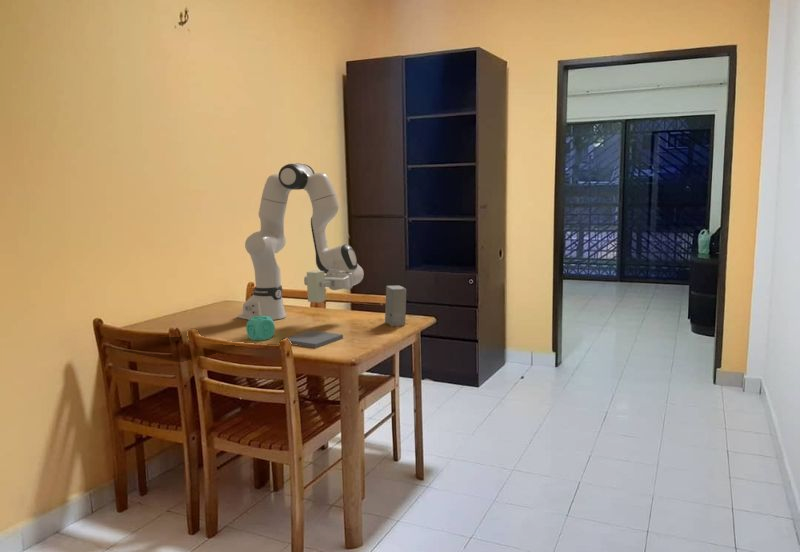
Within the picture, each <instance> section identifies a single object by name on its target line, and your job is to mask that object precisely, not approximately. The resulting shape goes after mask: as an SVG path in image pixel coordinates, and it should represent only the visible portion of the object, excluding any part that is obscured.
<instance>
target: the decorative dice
mask: <svg viewBox="0 0 800 552" xmlns="http://www.w3.org/2000/svg"><path fill="white" fill-rule="evenodd" d="M246 322H247V323H246V325H245V326H246V327H245V329H246V334H247V337H248V338H249V339H250V340H251V341H255V342H256V341H257V342H258V341H267V339H268V340H271V338H273V336H274V335H275V330H276V328H275V327H276V325H275V321H274V320H272V319H271V318H270V317H269V316H256V317H252V318H250V319H249V320H247V321H246Z"/></svg>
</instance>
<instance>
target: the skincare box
mask: <svg viewBox="0 0 800 552" xmlns="http://www.w3.org/2000/svg"><path fill="white" fill-rule="evenodd" d="M406 308H407V288H405V287H404V286H401V285H386V287H385V308H384V310H385V311H384V312H385V313H384V323H385V324H387V325H389V326H390V327H400V326H401V327H402V326H405V325H406V313H407V312H406V311H407V309H406Z"/></svg>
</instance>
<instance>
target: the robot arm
mask: <svg viewBox="0 0 800 552" xmlns="http://www.w3.org/2000/svg"><path fill="white" fill-rule="evenodd" d="M294 190H297V191H299V190H304V191H306V193H307V195H308V197H309V200H310V202H311V207H312V216H311V218H310V229H311V233H312V240H313V246H314V251H315V264H316V267H317V268H318V271H324V275H325V282H320V283H319V284H320V287H325V288H328V289H330V290H331V291H339V290H343V289H345V290H346V289H348V290H350V289H353V286H356V285H359V284H360V283H361V282H362V281H363V279H364V269H363V268H362V266H360V265H359V263H358V257H357V252H356V251H355V249H354V248H353V247H352V246H351V245H349V244H347V243H345V244H343V245H339V246H336V247H333V248H329V247H328V242H327V241H328V240H327V235H326V228H327V225H328V224H329V223H330V222H331V220H333V219H334V218H335V216H336V215H337V213H338V211H339V209H340V206H339V200H338V196H337V194H336V191H335V188H334V186H333V184H332V182H331V179H330V178H329V176H328V174H325V173H323V172H316V173H315V171H314V169H313V168H312V167H311V166H310V165H307V164H305V163H299V162H297V163H287V164H285V165H283V166H282V167H281V168H280V170H279V171H278V174H270V175H269V176H268V177H267V179H266V181H265V183H264V187H263V189H262V195H261V199H260V205H259V209H258V218H259V220H260V221H259V222H260V230H259V231H256V232H253V233H252V234H249V236H247V238H246V240H245V242H244V247H245V250H246V252H247V253H248V254H249V256H250V259H251V262H252V265H253V270H254V278H255V279H254V282H255V286H254V287H252V288H251V290H250V291H251V292H252V295H251V296H250V297H249V298H248V299H247V300H246V301H245V302H244V303H243V305H242V313H241V312H240V313H239V314H237V318H239V319H242V320H243V319H244V320H247V321H248V320H249V319H250V318H252V317H256V316H269V317H270V318H271V319H272V320H273V321H275V320H280V319H285V318H286V317H287V314H286V310H285V305H284V300H283V286H282V280H281V269H280V266H279V264H278V262H277V259H276V257H275V256H276V254H277V253H279V252H281V250H283V248H284V247H285V246H286V243H287V242H286V239H287V238H286V237H285V233H284V232H285V231H284V230H285V229H284V228H285V225H284V224H285V223H284V222H285V217H286V216H285V215H286V210H287V205H288V201H289V200H288V199H289V195H290V193H291V191H294ZM303 282H304V285H305V286H307V275H306V276H304V279H303Z"/></svg>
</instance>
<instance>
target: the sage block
mask: <svg viewBox="0 0 800 552" xmlns="http://www.w3.org/2000/svg"><path fill="white" fill-rule="evenodd" d="M325 275H326V274H325V273H324V271H320V270H310V271H307V272H306V276H307V285H306V287H307V290H306V291H307V302H308V303H322V302H325V301H326V300H327V299H326V298H327V297H326V287H320V284H319V283H320V282H325Z"/></svg>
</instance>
